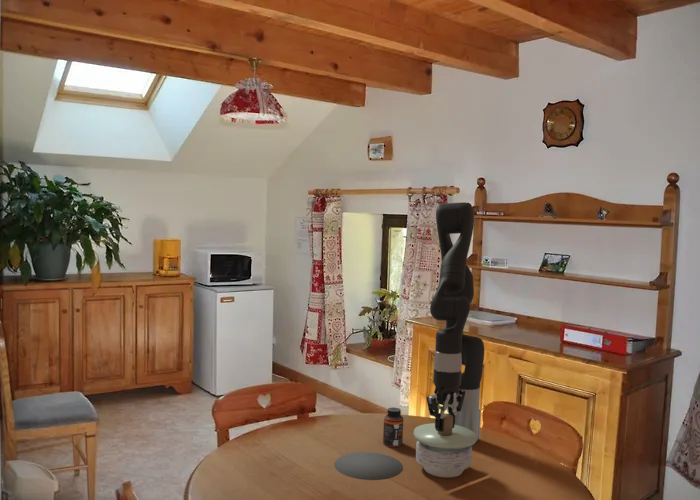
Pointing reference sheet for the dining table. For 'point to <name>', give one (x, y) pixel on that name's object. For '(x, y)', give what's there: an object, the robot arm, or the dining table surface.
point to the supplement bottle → (393, 428)
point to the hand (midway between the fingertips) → (444, 429)
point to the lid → (445, 435)
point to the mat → (368, 466)
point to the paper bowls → (443, 460)
